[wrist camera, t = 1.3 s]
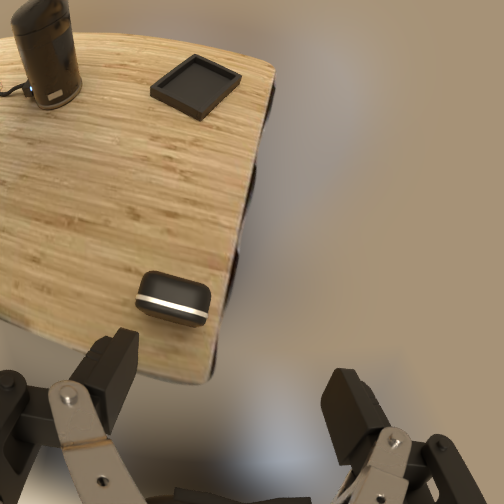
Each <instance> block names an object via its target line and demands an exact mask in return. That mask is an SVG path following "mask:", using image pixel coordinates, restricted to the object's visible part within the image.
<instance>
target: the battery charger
mask: <svg viewBox="0 0 504 504" xmlns="http://www.w3.org/2000/svg"><path fill="white" fill-rule="evenodd" d="M135 299H136V302H135V305H136V307H137V308H138V309H139V310H141V311H142V312H144V313H145V314H147V315H149V316H153V317H156V318H160V319H163V320H167V321H171V322H174V323H178V324H182V325H186V326H190V327H194V328H195V327H199V326H203V325H204V324H205V322H206V320H207V319H208V310H209V306H210V301H211V292H210V289H209V288H208V287H207V286H206V285H204V284H201V283H198V282H194V281H191V280H187V279H184V278H180V277H176V276H173V275H169V274H165V273H162V272H158V271H149V272H147V273H145V274H144V276H143V278H142V280H141V284H140V287H139V291H138V294H137V295H136V298H135Z"/></svg>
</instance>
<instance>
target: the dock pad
mask: <svg viewBox="0 0 504 504" xmlns="http://www.w3.org/2000/svg"><path fill="white" fill-rule="evenodd" d="M241 78H242V76H241V75H240V74H238V73H236V72H234V71H232V70H230V69H227V68H225V67H223V66H221V65H219V64H217V63H215V62H212V61H210V60H208V59H206V58H204V57H201V56H199V55H197V54H194V55H192V56H191V57H189V58H188V59H186V60H185V61H184V62H182V63H181V64H179V65H178V66H177V67H175V68H174V69H173V70H171V71H170V72H169V73H167V74H166V75H165V76H163V77H162V78H161V79H160V80H158V81H157V82H156V83H155V84H153V85H152V86H151V87H150V96H152V97H154V98H156V99H158V100H160V101H162V102H164V103H166V104H168V105H170V106H172V107H174V108H176V109H178V110H180V111H182V112H183V113H185V114H187V115H189V116H191V117H193V118H195V119H197V120H199V121H201V120H202V119H203V118H204V117H205V116H206V115H207V114H208V113H209V112H210V111H211V110H212V109H213V108H215V107H216V106H217V105H218V104H219V103H220V102H221V101H222V100H223V99H224V98H225V97H226V96H227V95H228V94H229V93H230V92H231V91H232V90H233V89H235V88H236V87H237V86H238V85H239V84H240V81H241Z"/></svg>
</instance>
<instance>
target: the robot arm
mask: <svg viewBox="0 0 504 504" xmlns="http://www.w3.org/2000/svg"><path fill="white" fill-rule="evenodd" d="M11 26H12V31H13V34H14V38H15V41H16V45H17V48H18V51H19V54H20V57H21V60H22V63H23V66H24V69H25V72H26V75H27V78H28V80H27V81H26V83H23V84H20V85H17V86H15V87H13V88H12V89H10V90H9V91H8V92H0V96H7V95H9V94H11V93H12V92H13V91H15V90H17V89H20V88H22V90H23V92H24V95H25V97H33V96H34V97H35V101H36V103H37V105H38V106H39V107H40V108H42V109H46V110H49V109H55V108H58V107H61V106H63V105H65V104H66V103H68V102H70V101H71V100H72V99H73V98H74V97H75V96H76V95H77V94H78V93H79V91H80V89H81V87H82V80H81V77H80V73H79V69H78V63H77V58H76V52H75V47H74V41H73V34H72V28H71V21H70V14H69V5H68V0H29V1H28V2H26V3H25V4H24V5H22V6H21V7H20V8H19V9H18V10H17V11H16V12H15V13H14V15H13V16H12V18H11ZM138 347H139V333H138V332H136V331H132V330H128V329H125V328H119V330H118V331H117V333H116V334H115V335H114V337H113V338H111V337H108V336H104V337H102V338H101V339H99V340H97V341H96V342H95V343H94V344H93V346H92V347H91V349H90V351H88V353H87V354H86V356H85V357H84V358H83V360H82V361H81V363H80V364H79V366H78V367H77V368H76V370H75V371H74V373H73V374H72V375H71V377H70V378H69V380H64V381H59V382H57V383H55V384H53V385H52V386H51V387H50V388H49V389H48V388H47V389H46V388H39V387H34V386H28V385H27V383H26V380H25V378H24V377H23V376H22V375H21V374H20V373H18V372H16V371H13V370H3V371H0V504H17V503H18V500H19V498H20V495H21V492H22V490H23V487H24V484H25V482H26V479H27V477H28V475H29V472H30V470H31V468H32V465H33V463H34V461H35V459H36V456H37V454H38V452H39V449H40V447H41V445H45V446H50V447H57V448H61V449H62V452H63V455H64V458H65V461H66V464H67V467H68V469H69V472H70V475H71V477H72V480H73V482H74V485H75V487H76V489H77V492H78V494H79V497H80V499H81V501H82V503H83V504H312V502H311V498H310V497H296V498H275V499H270V500H266V501H259V502H253V503H241V502H238V501H234V500H231V499H227V498H224V497H221V496H218V495H215V494H212V493H207V492H200V491H193V490H188V489H182V488H177V487H175V490H174V495H159V496H154V497H149V498H146V499H144V498H143V496H142V495H141V493H140V491H139V489H138V488H137V486H136V485H135V483H134V481H133V479H132V478H131V476H130V474H129V472H128V470H127V469H126V467H125V465H124V463H123V461H122V459H121V457H120V455H119V453H118V451H117V449H116V447H115V445H114V444H113V442H112V440H111V439H108V438H107V436H106V434H108V435H111V432H112V429H113V427H114V424H115V422H116V420H117V417H118V415H119V413H120V410H121V408H122V405H123V403H124V401H125V398H126V396H127V394H128V391H129V389H130V387H131V384H132V382H133V380H134V377H135V375H136V371H137V365H138ZM321 409H322V412H323V415H324V418H325V422H326V425H327V428H328V431H329V434H330V437H331V440H332V443H333V446H334V449H335V453H336V455H337V459H338V462H339V465H340V466H342V465H351V467H352V469H351V470H350V471H349V473H348V474H347V476H346V478H345V480H344V482H343V483H342V485H341V487H340V489H339V490H338V492H337V494H336V496H335V497H334V499H333V501H332V502H331V504H487V503H486V501H485V499H484V497H483V495H482V493H481V491H480V489H479V488H478V486H477V484H476V482H475V480H474V479H473V477H472V475H471V473H470V471H469V470H468V468H467V466H466V464H465V462H464V461H463V459H462V457H461V455H460V454H459V452H458V450H457V449H456V447H455V445H454V443H453V442H452V441H451V440H450V439H449V438H448V437H446V436H444V435H440V434H434V435H432V436H431V437H430V438H429V439H428V440H427V442H426V443H424V442H416V441H411V439H410V437H409V435H408V434H407V433H406V432H405V431H403V430H402V429H400V428H397V427H392V426H391V425H390V423H389V421H388V419H387V417H386V415H385V413H384V412H383V410H382V408H381V406H380V405H379V402H378V401H377V399H376V398H375V395H374V394H373V392H372V390H371V388H370V387H369V386H368V385H366V384H365V383H364V382H363V381H360V379H359V377H358V375H357V373H356V372H355V370H354V369H344V368H337V369H335V370H334V372H333V374H332V376H331V378H330V380H329V382H328V384H327V386H326V388H325V391H324V392H323V394H322V397H321ZM432 477H433V479H434V481H435V483H436V486H437V488H438V490H439V498H438V500H437V502H434V500H433V497H432V495H431V493H430V490H429V488H428V486H427V482H428V481H429V480H430V479H431V478H432Z"/></svg>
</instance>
